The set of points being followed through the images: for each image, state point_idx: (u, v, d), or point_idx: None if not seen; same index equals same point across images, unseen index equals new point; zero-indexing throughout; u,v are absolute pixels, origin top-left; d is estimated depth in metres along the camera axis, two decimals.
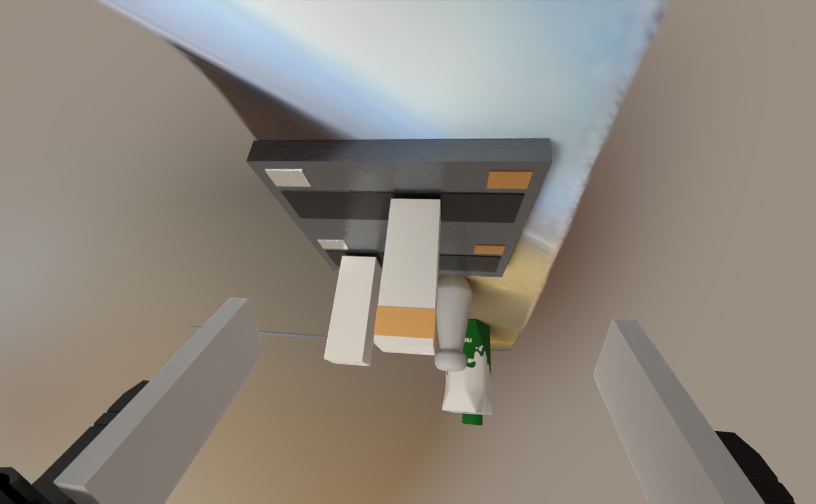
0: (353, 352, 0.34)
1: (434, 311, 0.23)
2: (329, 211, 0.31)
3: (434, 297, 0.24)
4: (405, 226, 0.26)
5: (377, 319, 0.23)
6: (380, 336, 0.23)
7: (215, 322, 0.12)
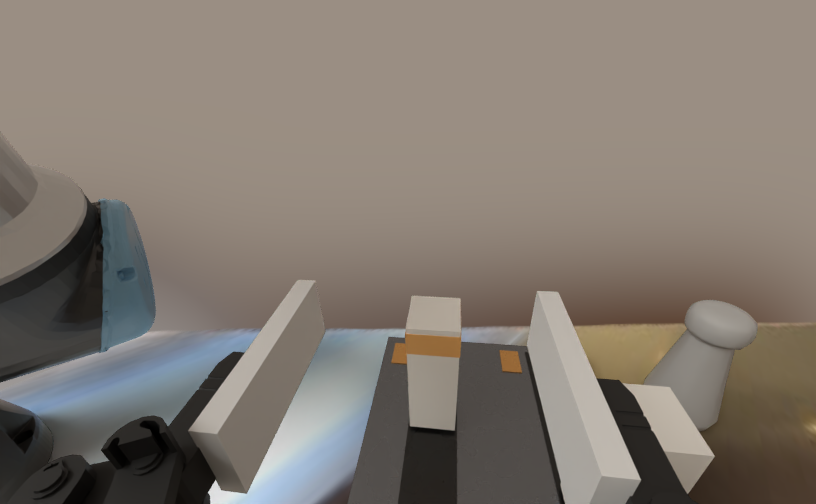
0: None
1: None
2: None
3: None
4: None
5: None
6: None
7: (291, 300, 0.13)
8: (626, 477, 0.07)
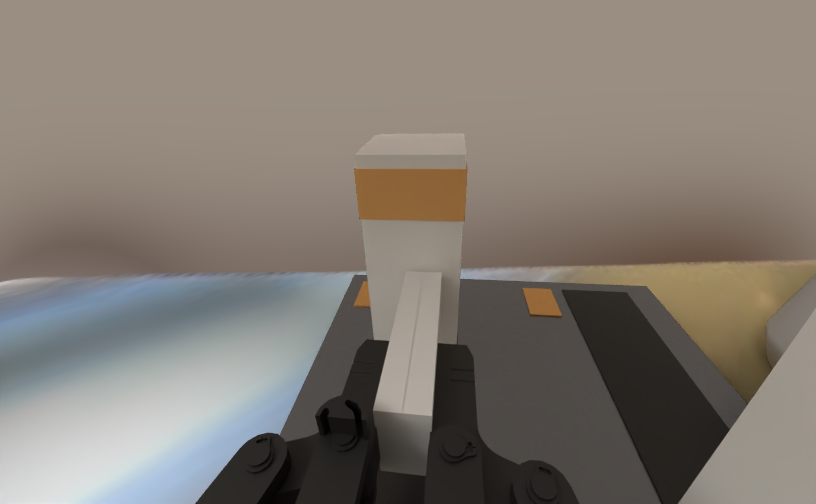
0: None
1: None
2: None
3: None
4: None
5: (358, 195, 0.13)
6: None
7: (410, 290, 0.13)
8: (420, 413, 0.08)
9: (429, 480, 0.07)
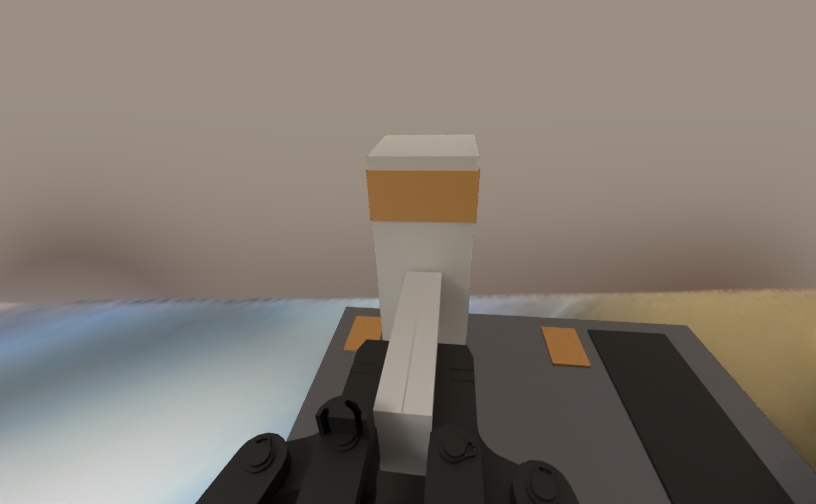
0: None
1: None
2: None
3: None
4: None
5: (369, 196, 0.13)
6: None
7: (410, 290, 0.13)
8: (420, 413, 0.08)
9: (429, 480, 0.07)
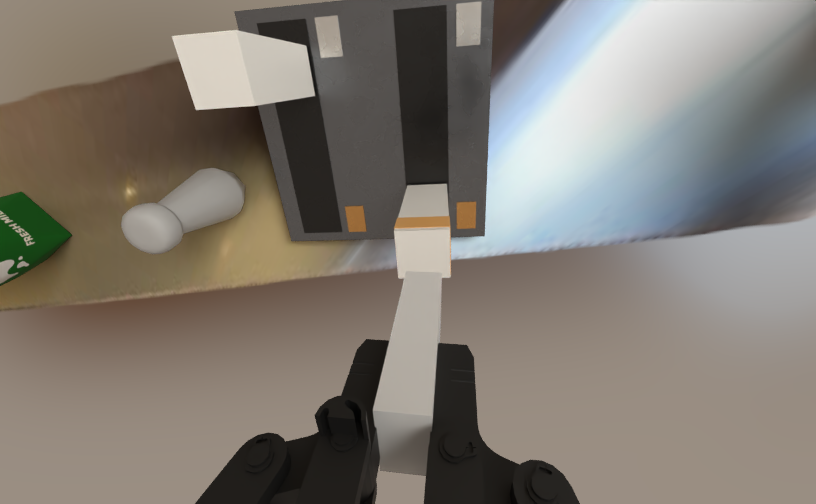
0: (257, 87, 0.21)
1: None
2: (411, 54, 0.29)
3: None
4: None
5: (449, 222, 0.25)
6: None
7: (410, 290, 0.13)
8: (420, 413, 0.08)
9: (429, 480, 0.07)
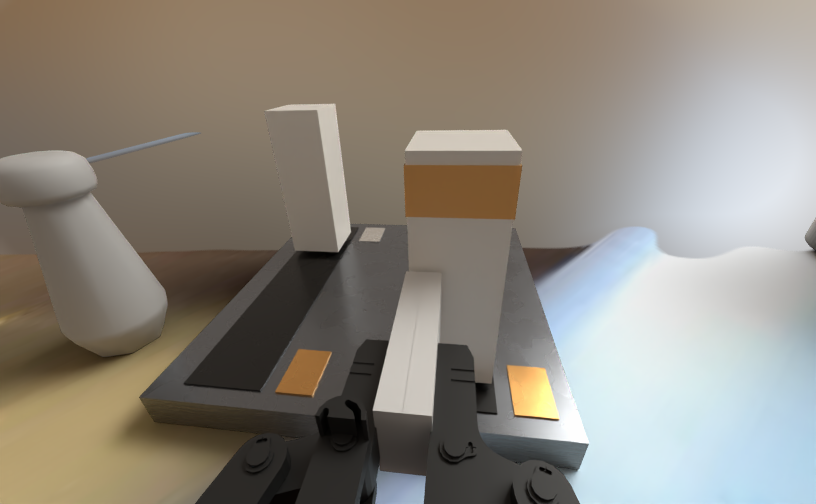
0: (323, 120, 0.25)
1: (514, 215, 0.13)
2: None
3: (509, 238, 0.13)
4: None
5: None
6: None
7: (410, 290, 0.13)
8: (420, 413, 0.08)
9: (429, 480, 0.07)
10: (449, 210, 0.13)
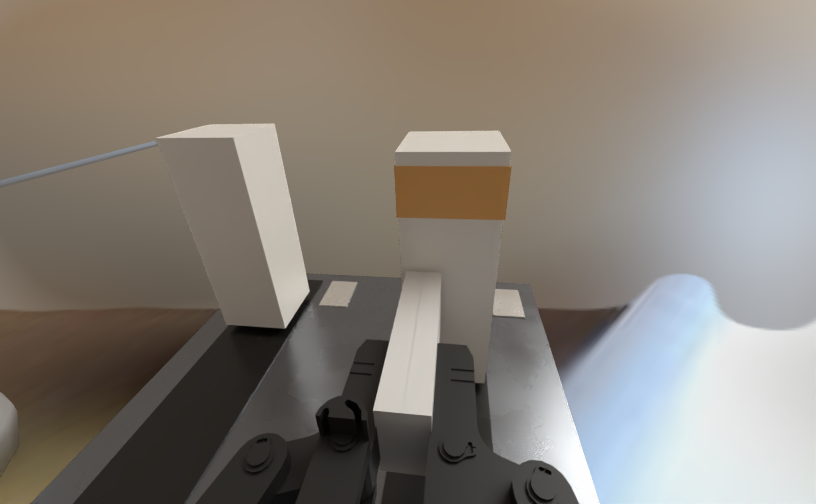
0: (249, 150, 0.17)
1: (504, 215, 0.13)
2: None
3: (500, 239, 0.13)
4: None
5: None
6: None
7: (410, 290, 0.13)
8: (420, 413, 0.08)
9: (429, 480, 0.07)
10: (440, 211, 0.13)
